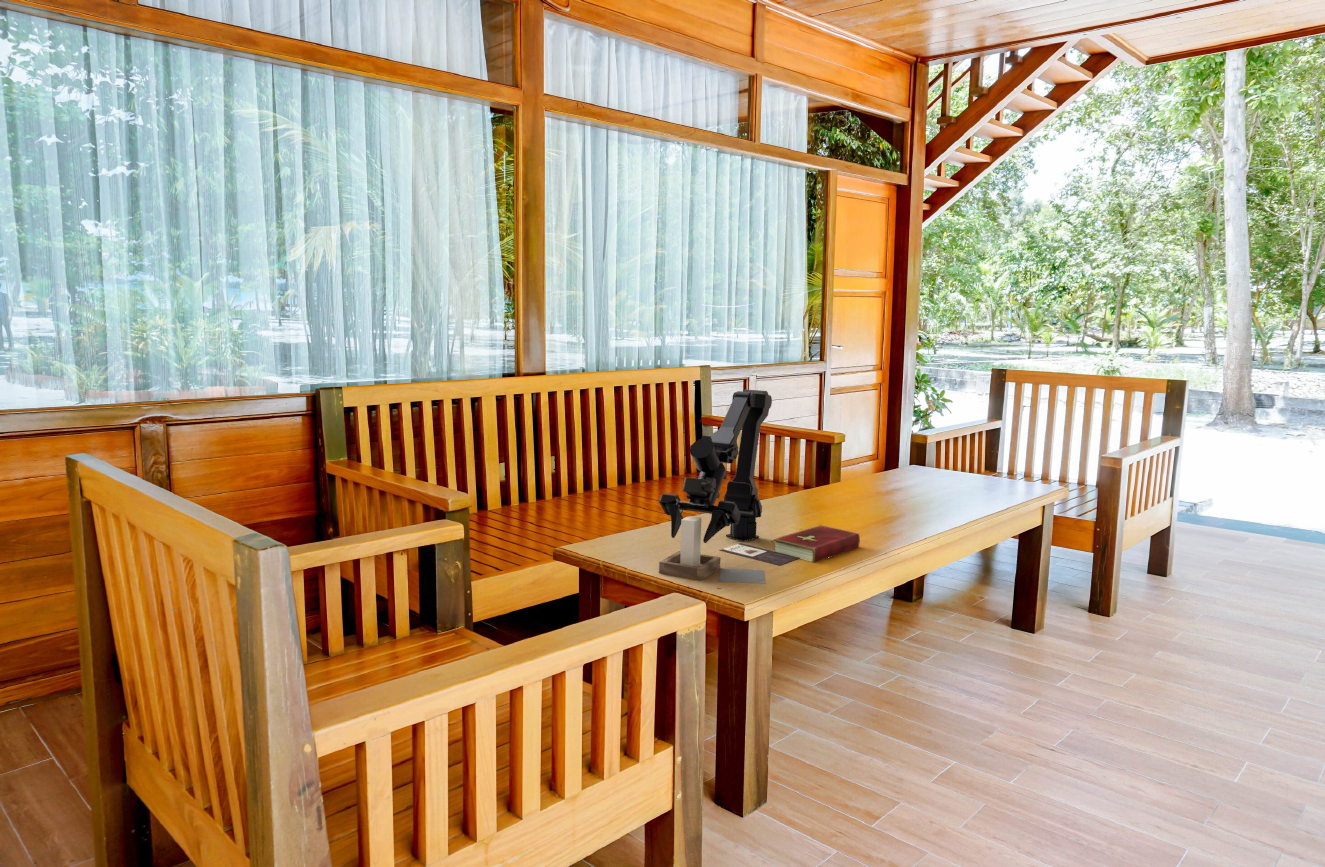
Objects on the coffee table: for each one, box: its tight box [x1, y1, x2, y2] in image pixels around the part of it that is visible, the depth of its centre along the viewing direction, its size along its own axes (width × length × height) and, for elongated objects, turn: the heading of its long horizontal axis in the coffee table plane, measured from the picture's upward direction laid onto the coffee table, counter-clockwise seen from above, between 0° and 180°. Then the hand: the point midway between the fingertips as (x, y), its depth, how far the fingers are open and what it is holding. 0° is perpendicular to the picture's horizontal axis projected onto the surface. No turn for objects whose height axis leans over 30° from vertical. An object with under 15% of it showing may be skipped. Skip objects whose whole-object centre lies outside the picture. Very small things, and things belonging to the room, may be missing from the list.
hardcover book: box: [773, 524, 861, 563], centre depth 223 cm, size 12×21×4 cm, turn 137°
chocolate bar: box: [719, 542, 800, 567], centre depth 217 cm, size 9×1×18 cm
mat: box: [719, 567, 766, 585], centre depth 200 cm, size 10×10×1 cm
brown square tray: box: [658, 550, 721, 581], centre depth 203 cm, size 11×11×3 cm
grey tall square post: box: [680, 515, 702, 567], centre depth 202 cm, size 6×6×12 cm
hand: (688, 539), depth 201 cm, fingers open, 8 cm apart
